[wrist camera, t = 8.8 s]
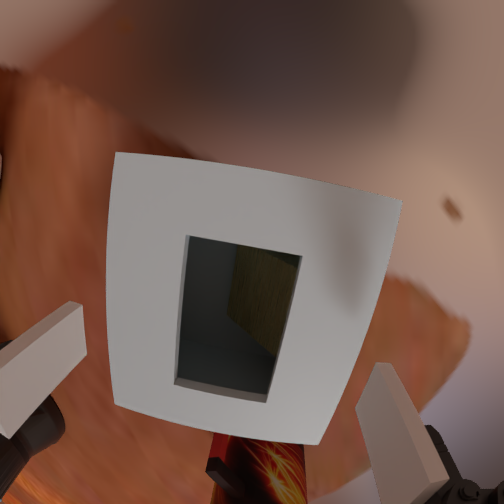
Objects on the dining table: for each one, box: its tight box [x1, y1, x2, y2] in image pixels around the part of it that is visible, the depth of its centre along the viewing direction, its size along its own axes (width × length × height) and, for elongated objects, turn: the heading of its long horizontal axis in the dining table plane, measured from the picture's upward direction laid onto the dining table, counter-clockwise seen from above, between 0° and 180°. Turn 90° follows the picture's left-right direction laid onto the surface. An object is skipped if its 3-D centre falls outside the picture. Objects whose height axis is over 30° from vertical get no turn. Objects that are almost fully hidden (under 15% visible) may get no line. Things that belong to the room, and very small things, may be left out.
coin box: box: [106, 152, 403, 445], centre depth 20 cm, size 14×16×10 cm
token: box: [227, 244, 300, 357], centre depth 20 cm, size 3×6×8 cm
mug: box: [205, 432, 307, 504], centre depth 24 cm, size 10×14×12 cm
